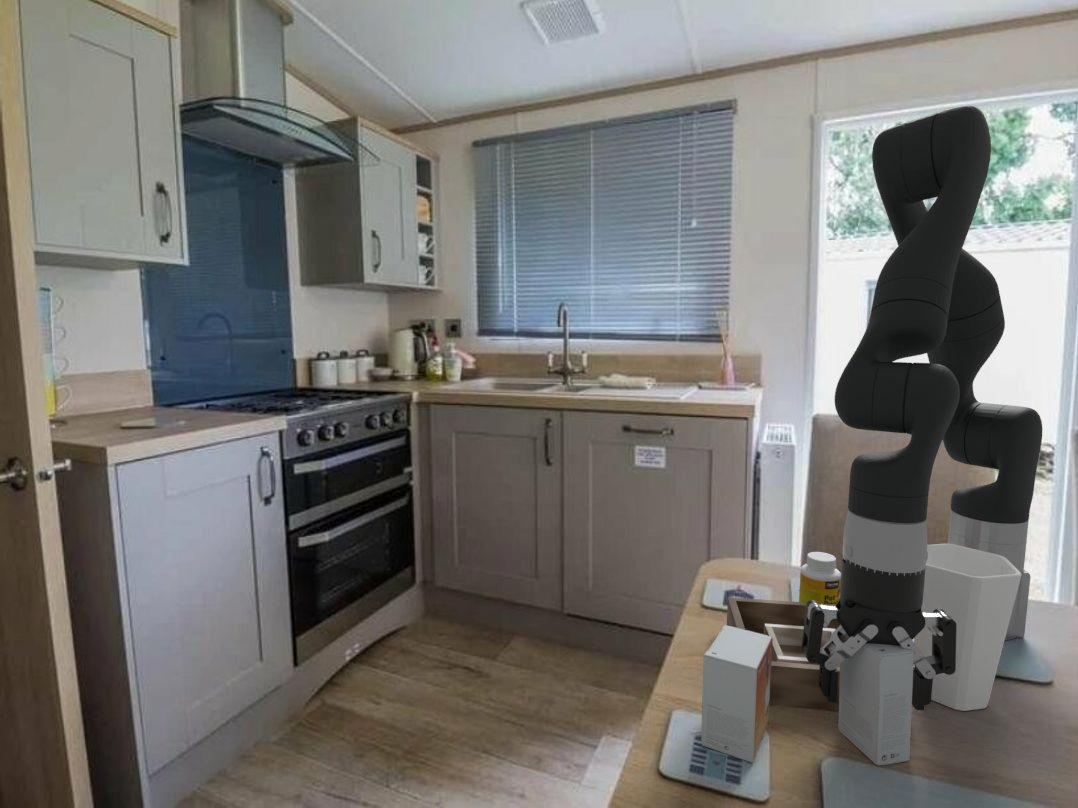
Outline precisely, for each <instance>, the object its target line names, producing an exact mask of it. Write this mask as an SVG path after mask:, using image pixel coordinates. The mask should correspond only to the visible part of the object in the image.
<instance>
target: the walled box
mask: <svg viewBox="0 0 1078 808" xmlns="http://www.w3.org/2000/svg"><path fill="white" fill-rule="evenodd" d="M818 604H819V605H826V606H834V607H835V606H836V604H821V603H818ZM806 605H807V603H806V602H799V601H790V600H774V599H773V600H772V599H759V598H745V597H744V598H743V597H731V596H728V597H727V605H726V606H727V609H726V610H727V611H726V613H727V615H726V625H727V626H732V627H736V628H740V629H744V630H748V631H752V632H755V633H759V634H763V635H767V636H771V637H772V638H773V640H772V660H771V677H770V699H769V706H775V707H788V708H797V709H806V710H807V709H808V710H818V711H827V712H828V711H829V712H832V711H833V712H838V713H839V685H840V665H839V666H838V667H837V670H838V687H837V701H836V703H835V702H828V700H827V698H826V696H824V695H823V693H822V691H821V689H820V687H819V684H818V683H819V667H820V664H817V663H810V662H809V661H808V660H807V658H806V655H805V653H804V651H803V650H802V647H801V645H802V637H803V629H804V621H805V613H806ZM839 626H840V623H839V622H838V620H837V619H832V620H831V621H830V623H829V625H828V626H827V627H823V632H822V640H821V648H822V647H823V646H824V645H825V644H826V643H827V642H828V641H829V640H830V638H831V635H832V633H833V632H834V631H835V630H836V629H837V628H838V627H839Z"/></svg>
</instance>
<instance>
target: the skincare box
mask: <svg viewBox="0 0 1078 808" xmlns="http://www.w3.org/2000/svg"><path fill="white" fill-rule="evenodd" d="M845 638H846V641H847V640H848V639H849V638H850V637H849V636H848V635H847V633H846V634H845ZM913 667H914V651H912V650H906V649H903V648H902V646H896V645H886V644H864V645H863V646H862V647H861V648H860V649H859V650H858V651H857V652H856V653H855V654H854V655H853V656H852V657H851V658H846V659H845V660H844V661H843V662H842V663H841V664H840V685H839V712H838V731H839V733H841V734H842V735H843V736H844V737H846V739H848V740H849V741H850V742H851V743H852V744H853V745H854V746H855V747H856V748H857V749H859V750H860V751H861V752H862V753H863V754H864V755H865V756H866V757H867V758H868V759H869V760H870V761H871V762H872V763H873V764H875V765H876V766H885V765H886V766H887V765H891V764H897V763H898V764H899V763H902V762H903V763H904V762H907V761H909V760H910V757H911V754H910V753H911V739H912V738H911V737H912V735H911V732H912V714H913V713H912V709H913V705H912V689H913Z"/></svg>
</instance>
